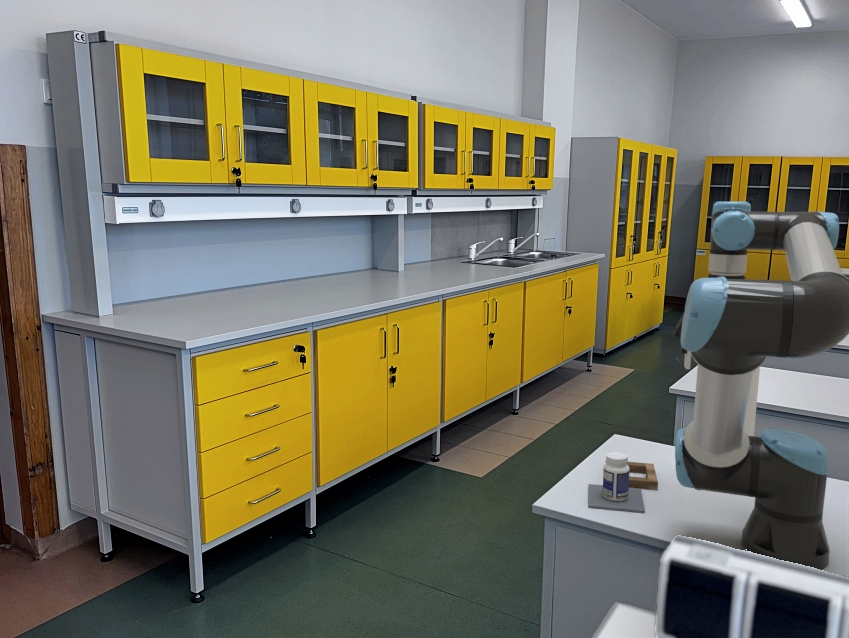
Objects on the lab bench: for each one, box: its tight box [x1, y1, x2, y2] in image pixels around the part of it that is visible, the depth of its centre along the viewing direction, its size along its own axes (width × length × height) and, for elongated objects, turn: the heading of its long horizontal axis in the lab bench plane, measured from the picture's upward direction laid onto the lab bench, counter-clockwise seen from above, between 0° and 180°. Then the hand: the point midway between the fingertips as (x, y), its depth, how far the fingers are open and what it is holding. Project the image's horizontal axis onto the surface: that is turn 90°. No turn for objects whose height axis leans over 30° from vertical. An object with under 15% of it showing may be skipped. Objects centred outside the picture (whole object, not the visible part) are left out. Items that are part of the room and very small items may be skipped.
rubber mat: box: [587, 483, 646, 514], centre depth 158 cm, size 12×12×1 cm
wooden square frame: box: [605, 459, 659, 491], centre depth 169 cm, size 12×12×2 cm
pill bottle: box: [602, 451, 631, 501], centre depth 157 cm, size 6×6×10 cm
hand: (719, 369), depth 153 cm, fingers open, 13 cm apart
